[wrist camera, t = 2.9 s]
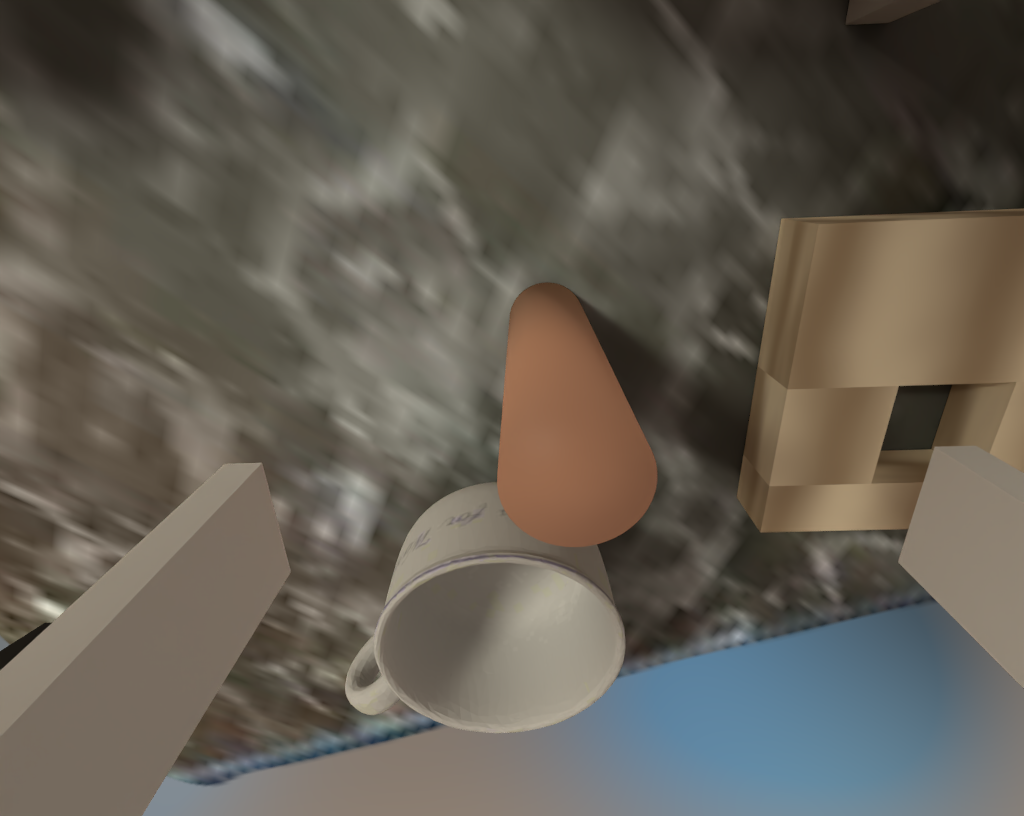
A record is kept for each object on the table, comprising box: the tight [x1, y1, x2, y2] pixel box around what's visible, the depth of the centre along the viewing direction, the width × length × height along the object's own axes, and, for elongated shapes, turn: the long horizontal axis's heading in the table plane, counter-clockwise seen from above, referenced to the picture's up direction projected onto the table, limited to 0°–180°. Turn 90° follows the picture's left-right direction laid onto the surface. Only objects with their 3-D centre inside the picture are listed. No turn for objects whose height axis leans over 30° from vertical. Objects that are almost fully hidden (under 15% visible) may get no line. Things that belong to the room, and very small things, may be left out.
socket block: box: [737, 208, 1024, 532], centre depth 23 cm, size 14×14×3 cm
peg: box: [497, 283, 657, 547], centre depth 17 cm, size 3×3×14 cm
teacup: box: [345, 482, 626, 733], centre depth 26 cm, size 14×11×8 cm
